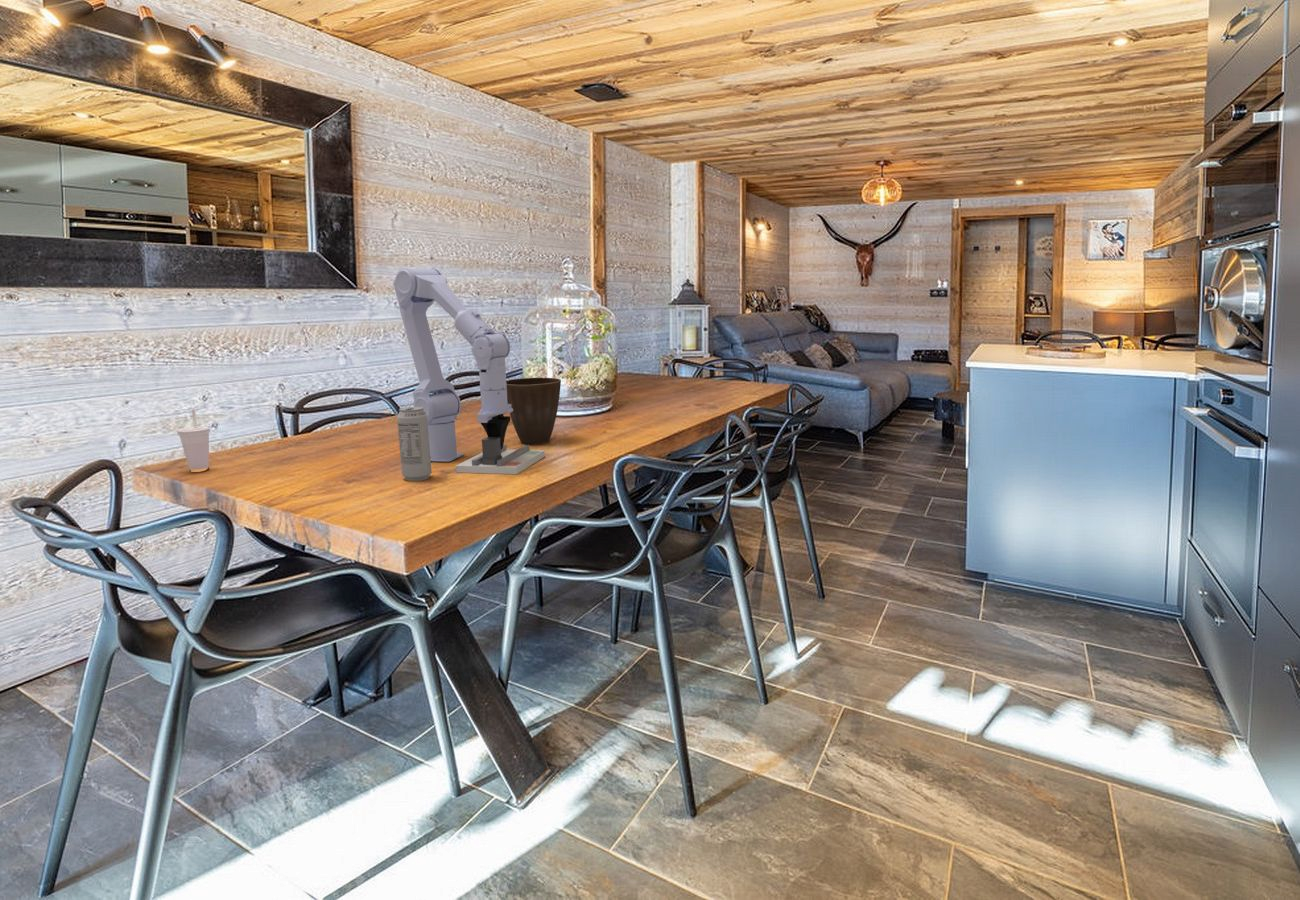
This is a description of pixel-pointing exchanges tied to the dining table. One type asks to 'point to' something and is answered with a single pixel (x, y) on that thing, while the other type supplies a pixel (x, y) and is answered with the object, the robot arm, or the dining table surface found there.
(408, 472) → the energy drink can
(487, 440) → the lever
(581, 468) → the dining table surface
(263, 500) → the dining table surface
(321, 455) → the dining table surface
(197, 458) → the smoothie
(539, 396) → the plant pot
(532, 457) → the slider rail board
